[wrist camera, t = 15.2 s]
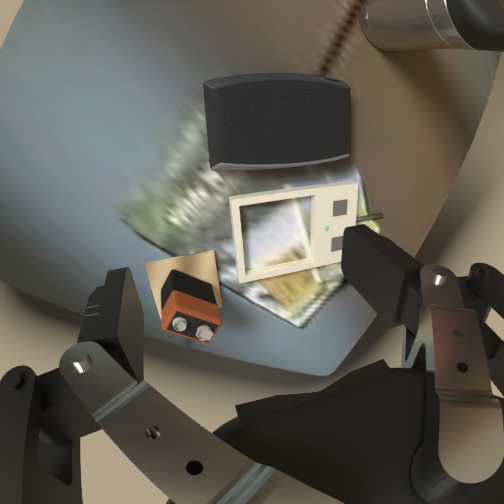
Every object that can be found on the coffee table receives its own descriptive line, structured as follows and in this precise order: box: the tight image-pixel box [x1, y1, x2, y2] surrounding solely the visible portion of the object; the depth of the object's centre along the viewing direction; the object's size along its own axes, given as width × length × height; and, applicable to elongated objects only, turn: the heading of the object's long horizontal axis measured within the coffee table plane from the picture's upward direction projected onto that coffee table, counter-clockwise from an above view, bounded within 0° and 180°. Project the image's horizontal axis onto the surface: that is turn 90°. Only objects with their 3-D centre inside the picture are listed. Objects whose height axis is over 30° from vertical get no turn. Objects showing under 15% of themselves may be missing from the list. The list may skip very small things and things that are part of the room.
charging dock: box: [229, 181, 383, 283], centre depth 46 cm, size 26×13×2 cm, turn 94°
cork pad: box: [145, 250, 222, 319], centre depth 46 cm, size 10×10×1 cm
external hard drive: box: [203, 73, 350, 170], centre depth 37 cm, size 13×19×4 cm
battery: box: [161, 269, 222, 343], centre depth 41 cm, size 4×7×10 cm, turn 57°
